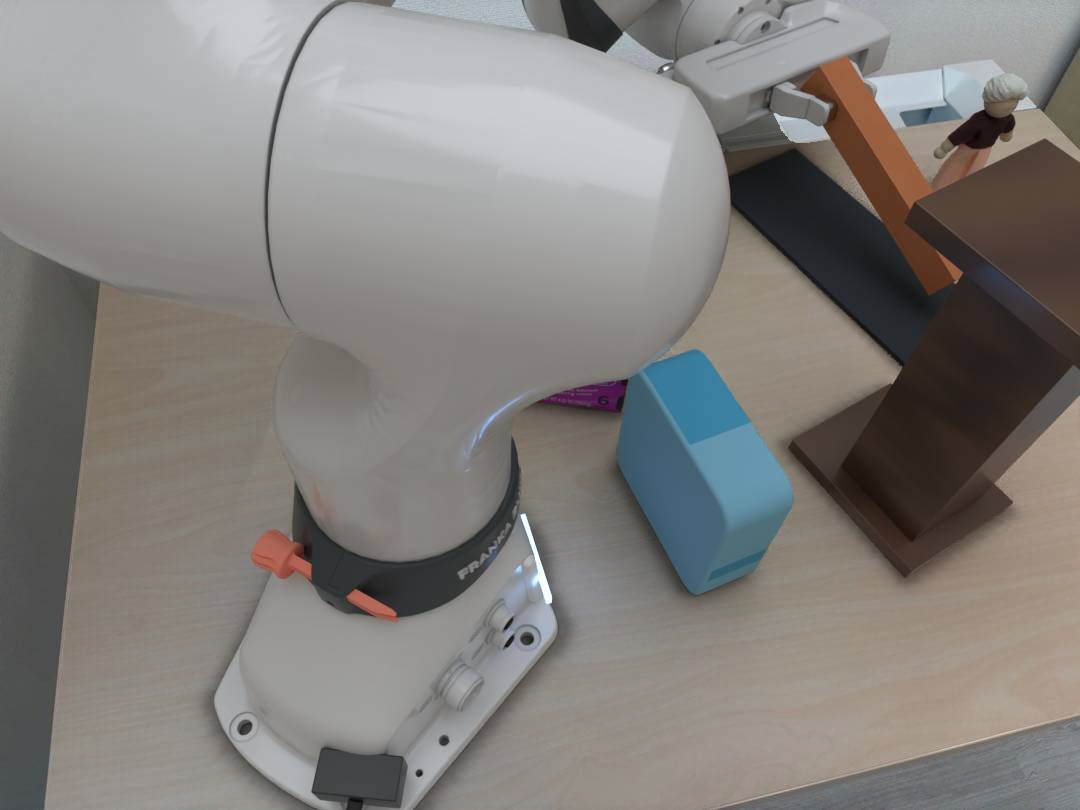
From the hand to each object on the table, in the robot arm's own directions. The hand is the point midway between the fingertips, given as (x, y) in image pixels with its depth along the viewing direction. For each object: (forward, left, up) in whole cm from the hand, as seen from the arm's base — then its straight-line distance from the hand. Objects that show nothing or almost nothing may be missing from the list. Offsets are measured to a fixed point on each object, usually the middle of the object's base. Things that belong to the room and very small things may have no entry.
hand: (850, 107), depth 67 cm
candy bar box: (-28, +11, -11) cm, 33 cm away
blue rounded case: (-34, -2, -11) cm, 36 cm away
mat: (-3, -5, -11) cm, 13 cm away
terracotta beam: (-2, -4, -4) cm, 7 cm away
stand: (-24, -14, -11) cm, 30 cm away
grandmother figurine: (+9, -11, -11) cm, 18 cm away
